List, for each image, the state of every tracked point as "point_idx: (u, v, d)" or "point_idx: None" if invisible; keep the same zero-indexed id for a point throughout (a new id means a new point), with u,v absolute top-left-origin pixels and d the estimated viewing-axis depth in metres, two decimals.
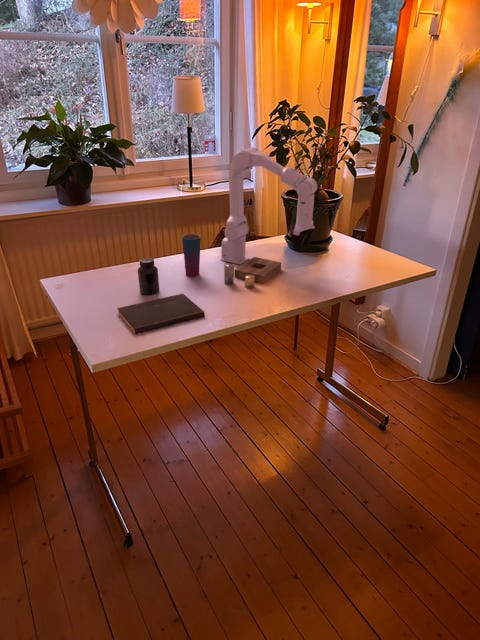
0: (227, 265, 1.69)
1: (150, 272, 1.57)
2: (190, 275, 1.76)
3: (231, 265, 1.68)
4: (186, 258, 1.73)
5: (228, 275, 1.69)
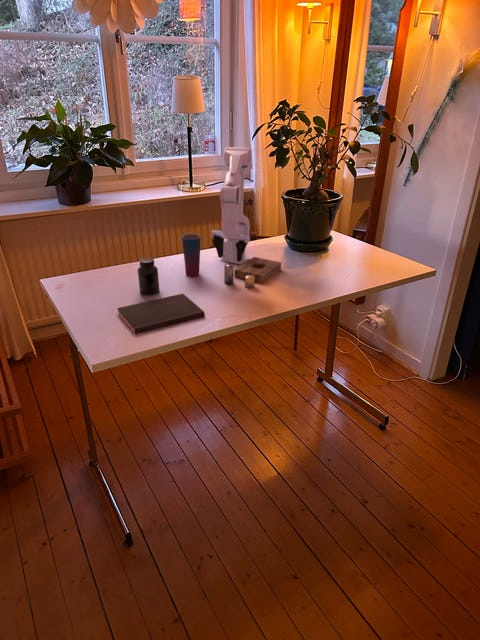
0: (227, 265, 1.69)
1: (150, 272, 1.57)
2: (190, 275, 1.76)
3: (231, 265, 1.68)
4: (186, 258, 1.73)
5: (228, 275, 1.69)
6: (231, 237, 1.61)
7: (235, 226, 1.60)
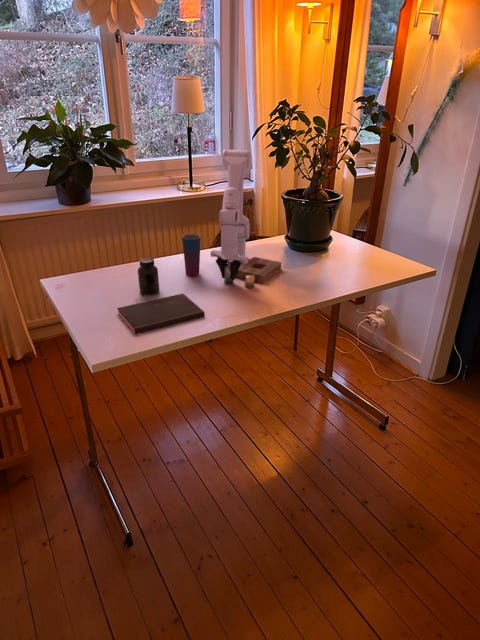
0: (227, 265, 1.69)
1: (150, 272, 1.57)
2: (190, 275, 1.76)
3: None
4: (186, 258, 1.73)
5: (228, 275, 1.69)
6: (230, 258, 1.64)
7: (234, 247, 1.63)
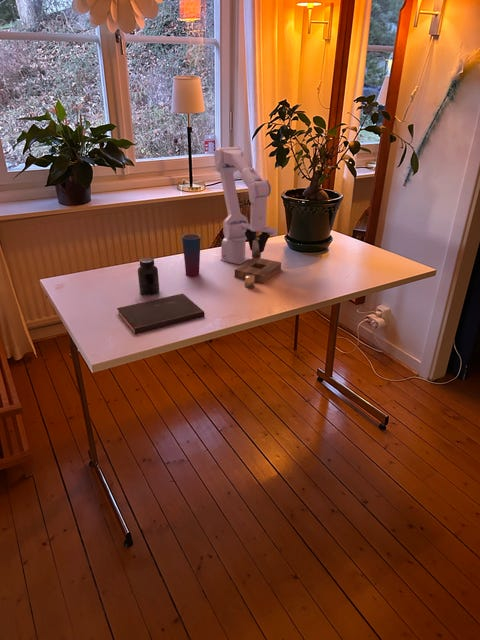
0: (255, 239, 1.73)
1: (150, 272, 1.57)
2: (190, 275, 1.76)
3: None
4: (186, 258, 1.73)
5: (255, 248, 1.73)
6: (259, 230, 1.69)
7: (263, 219, 1.68)
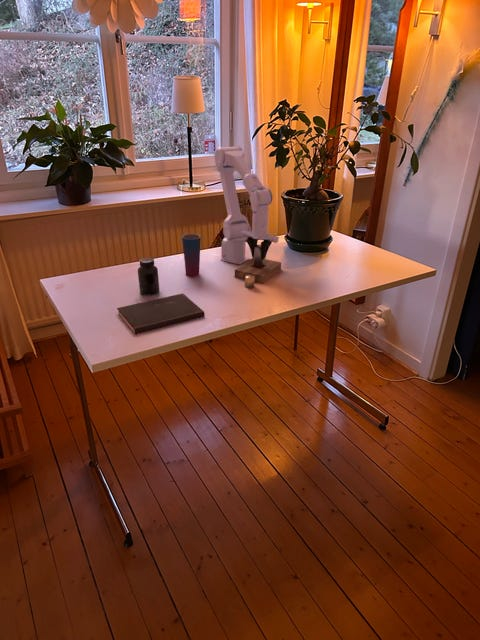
0: (257, 246, 1.75)
1: (150, 272, 1.57)
2: (190, 275, 1.76)
3: None
4: (186, 258, 1.73)
5: (257, 255, 1.75)
6: (261, 237, 1.71)
7: (265, 227, 1.70)
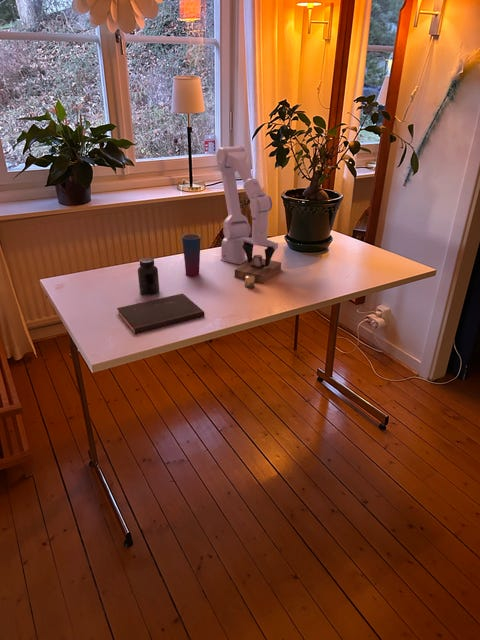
0: (256, 256, 1.77)
1: (150, 272, 1.57)
2: (190, 275, 1.76)
3: (260, 256, 1.77)
4: (186, 258, 1.73)
5: (257, 265, 1.77)
6: (261, 244, 1.72)
7: (264, 233, 1.71)
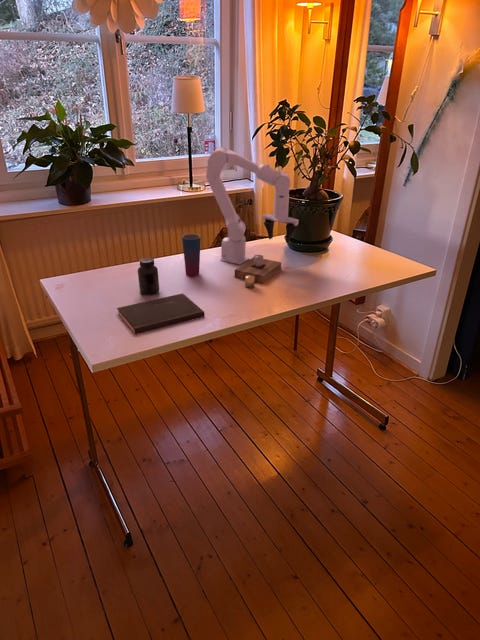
0: (257, 256, 1.77)
1: (150, 272, 1.57)
2: (190, 275, 1.76)
3: (261, 257, 1.77)
4: (186, 258, 1.73)
5: (257, 265, 1.77)
6: (282, 220, 1.80)
7: (286, 210, 1.79)
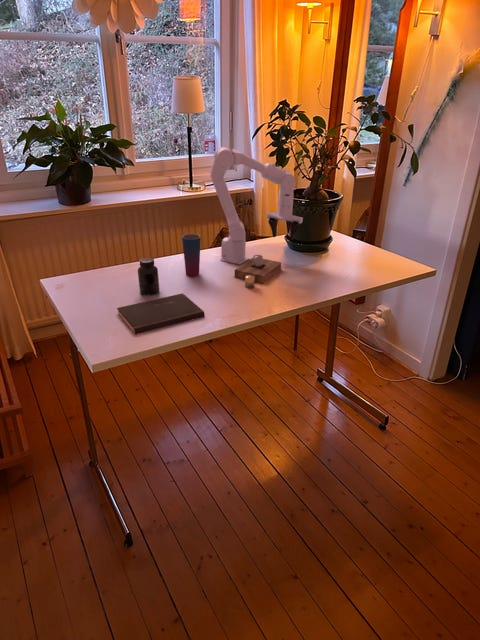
0: (256, 256, 1.77)
1: (150, 272, 1.57)
2: (190, 275, 1.76)
3: (260, 257, 1.77)
4: (186, 258, 1.73)
5: (257, 265, 1.77)
6: (286, 218, 1.83)
7: (290, 208, 1.82)
